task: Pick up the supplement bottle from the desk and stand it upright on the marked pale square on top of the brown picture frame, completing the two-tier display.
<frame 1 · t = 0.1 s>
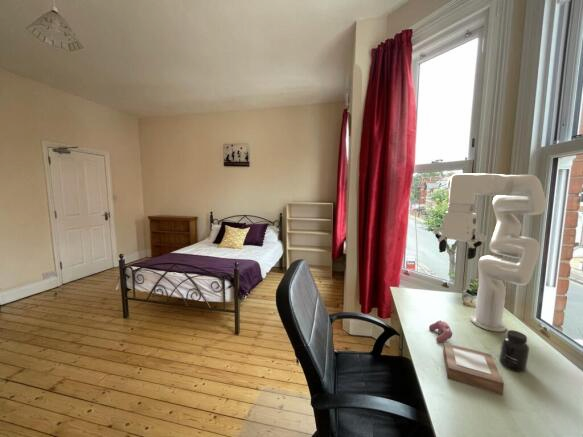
hand: (455, 254, 89), 37 cm above the table, tool pointing down, fingers open, 9 cm apart
supplement bottle: (512, 366, 84), on the table
video game controller: (440, 336, 101), on the table
brown picture frame: (469, 371, 82), on the table
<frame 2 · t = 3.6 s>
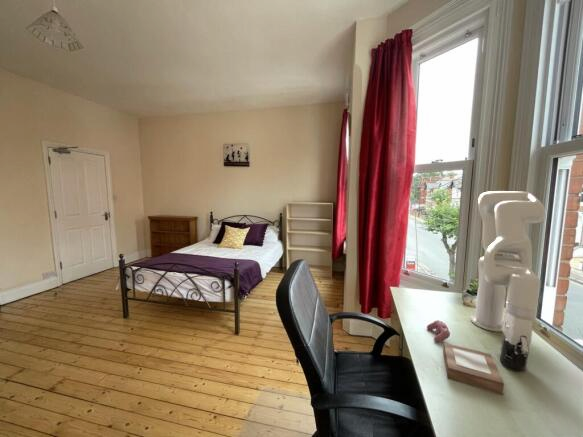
hand: (513, 357, 84), 3 cm above the table, tool pointing down, fingers closed on supplement bottle, 6 cm apart
supplement bottle: (512, 366, 84), on the table, touching gripper
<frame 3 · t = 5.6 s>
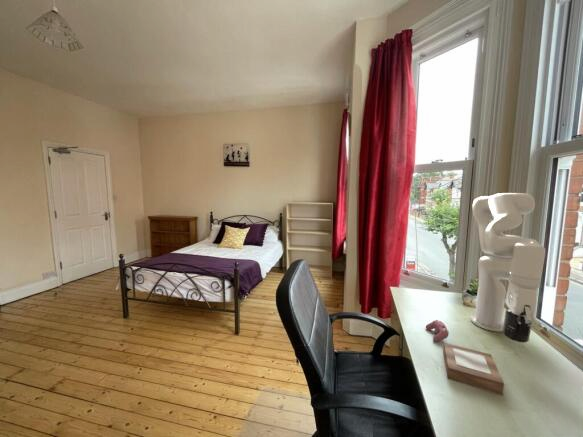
hand: (516, 328, 83), 14 cm above the table, tool pointing down, fingers closed on supplement bottle, 6 cm apart
supplement bottle: (515, 337, 84), point 10 cm above the table, touching gripper
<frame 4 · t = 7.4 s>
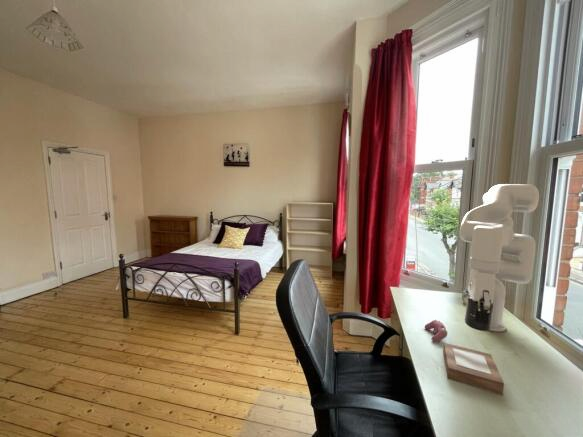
hand: (478, 316, 79), 20 cm above the table, tool pointing down, fingers closed on supplement bottle, 6 cm apart
supplement bottle: (477, 326, 80), point 16 cm above the table, touching gripper
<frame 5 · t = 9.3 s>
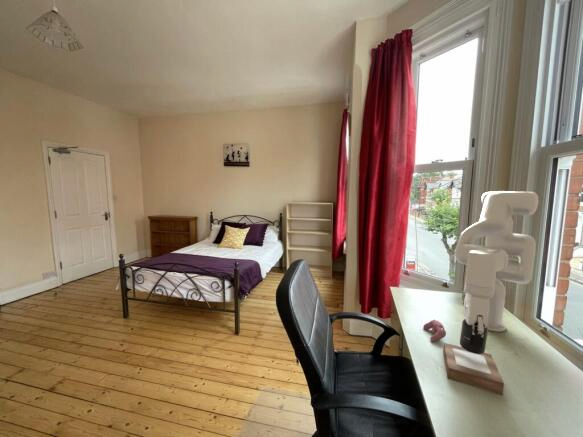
hand: (473, 339, 80), 12 cm above the table, tool pointing down, fingers closed on supplement bottle, 6 cm apart
supplement bottle: (472, 348, 81), point 8 cm above the table, touching gripper
when the fingers open (9 cm above the table, at t = 11.1 s): supplement bottle drops 1 cm, resting on brown picture frame.
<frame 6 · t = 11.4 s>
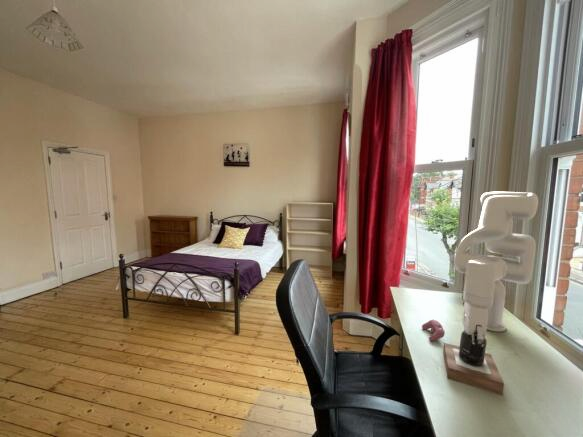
hand: (472, 346, 81), 9 cm above the table, tool pointing down, fingers open, 9 cm apart
supplement bottle: (470, 360, 81), point 4 cm above the table, touching brown picture frame
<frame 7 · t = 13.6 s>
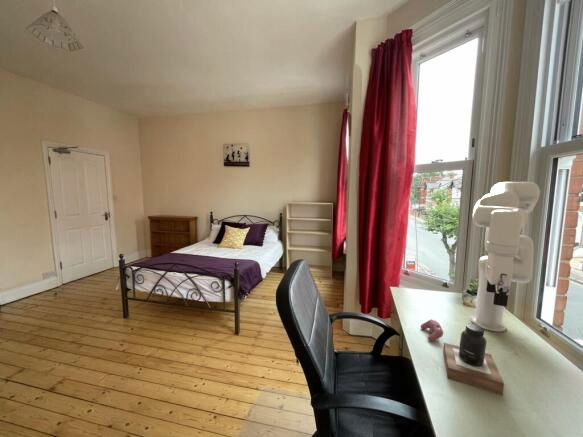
hand: (495, 298, 80), 25 cm above the table, tool pointing down, fingers open, 9 cm apart
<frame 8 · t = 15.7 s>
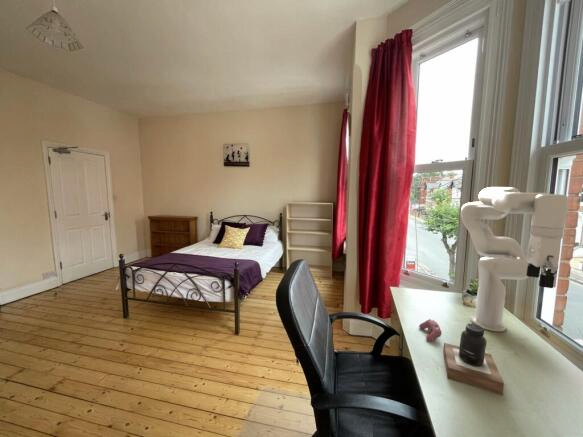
hand: (538, 281, 82), 30 cm above the table, tool pointing down, fingers open, 9 cm apart
at the end: supplement bottle inside the target area on the brown picture frame (0.1 cm from its centre), point 4.0 cm above the brown picture frame's base; supplement bottle tilted 0°; the gripper is holding nothing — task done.
